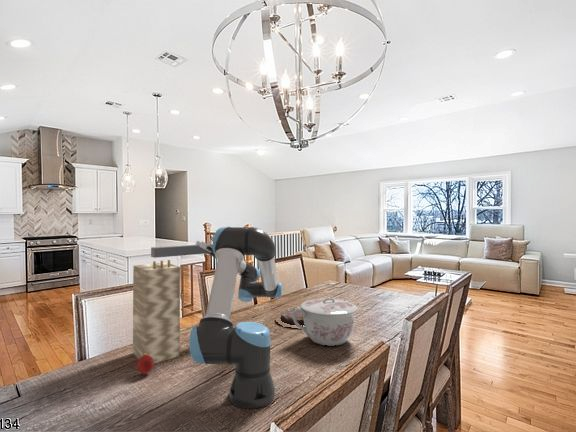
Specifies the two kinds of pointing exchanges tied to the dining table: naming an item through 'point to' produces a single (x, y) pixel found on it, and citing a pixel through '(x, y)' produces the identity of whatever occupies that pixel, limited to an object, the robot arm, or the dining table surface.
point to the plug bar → (177, 250)
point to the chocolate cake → (287, 317)
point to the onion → (145, 364)
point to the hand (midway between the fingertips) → (198, 243)
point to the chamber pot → (327, 320)
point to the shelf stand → (156, 311)
